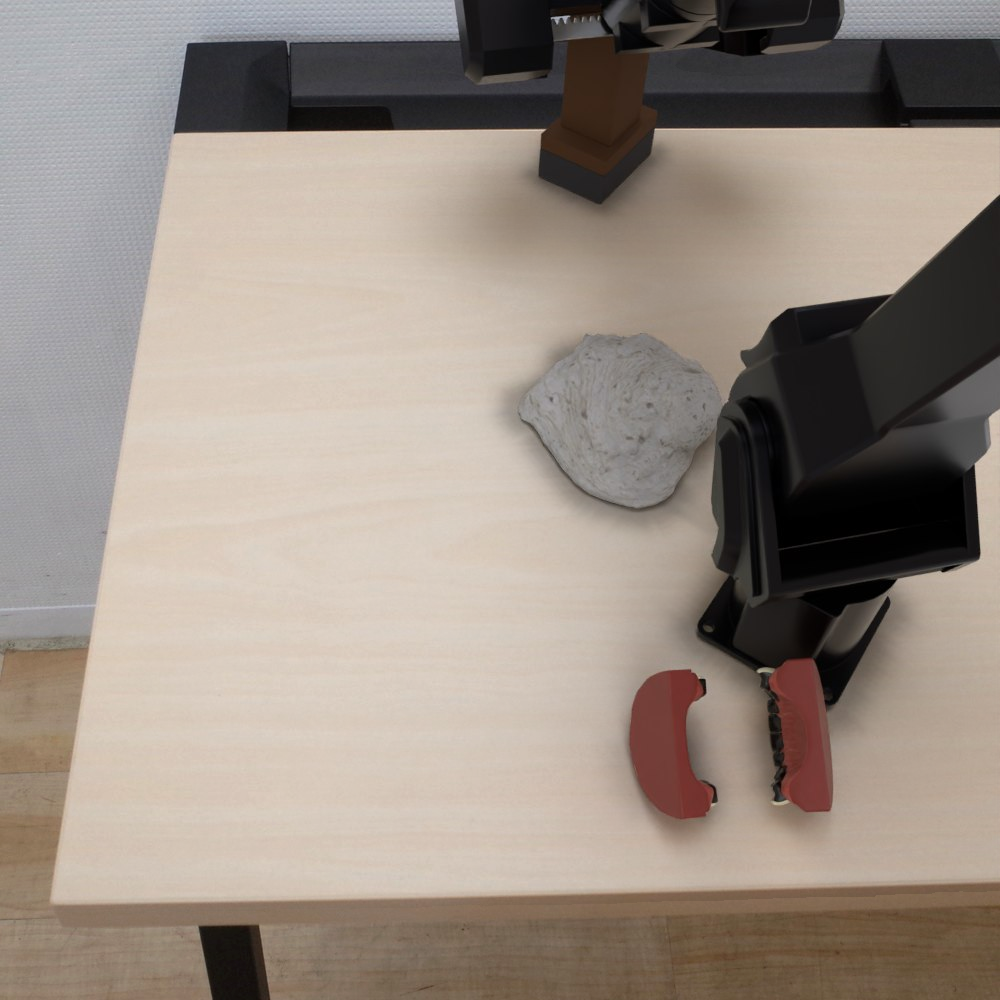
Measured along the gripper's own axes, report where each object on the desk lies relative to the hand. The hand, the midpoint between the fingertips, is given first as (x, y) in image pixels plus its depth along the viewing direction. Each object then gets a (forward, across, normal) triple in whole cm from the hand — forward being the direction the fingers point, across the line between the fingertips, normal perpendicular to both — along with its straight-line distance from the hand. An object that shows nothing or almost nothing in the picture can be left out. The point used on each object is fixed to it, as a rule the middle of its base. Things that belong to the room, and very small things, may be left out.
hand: (603, 40), depth 61 cm
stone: (-10, +5, +20) cm, 23 cm away
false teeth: (-23, +9, +31) cm, 40 cm away
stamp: (+4, 0, +6) cm, 8 cm away
